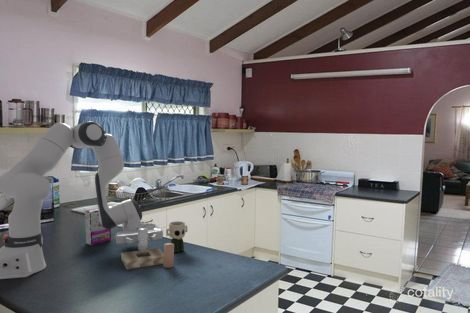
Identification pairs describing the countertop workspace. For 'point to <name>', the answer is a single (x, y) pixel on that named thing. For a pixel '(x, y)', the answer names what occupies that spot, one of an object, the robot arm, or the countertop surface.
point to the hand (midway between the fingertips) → (142, 240)
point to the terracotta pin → (168, 255)
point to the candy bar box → (95, 228)
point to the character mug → (177, 234)
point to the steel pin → (142, 242)
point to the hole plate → (142, 258)
